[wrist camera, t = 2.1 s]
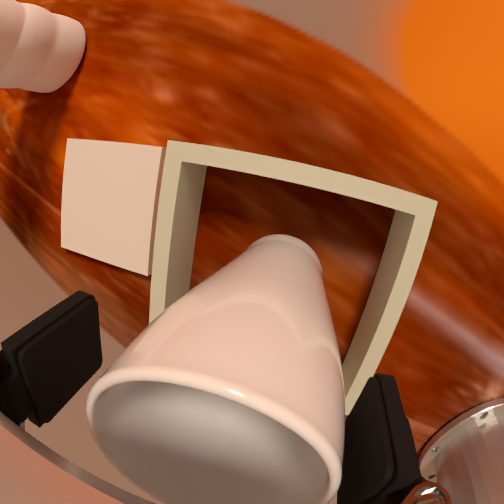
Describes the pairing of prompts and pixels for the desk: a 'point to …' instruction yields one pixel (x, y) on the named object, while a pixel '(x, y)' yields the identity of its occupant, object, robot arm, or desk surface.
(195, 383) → the drinking glass
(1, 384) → the robot arm
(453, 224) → the desk surface
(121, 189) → the ceramic tile
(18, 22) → the water bottle
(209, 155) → the beige square frame
